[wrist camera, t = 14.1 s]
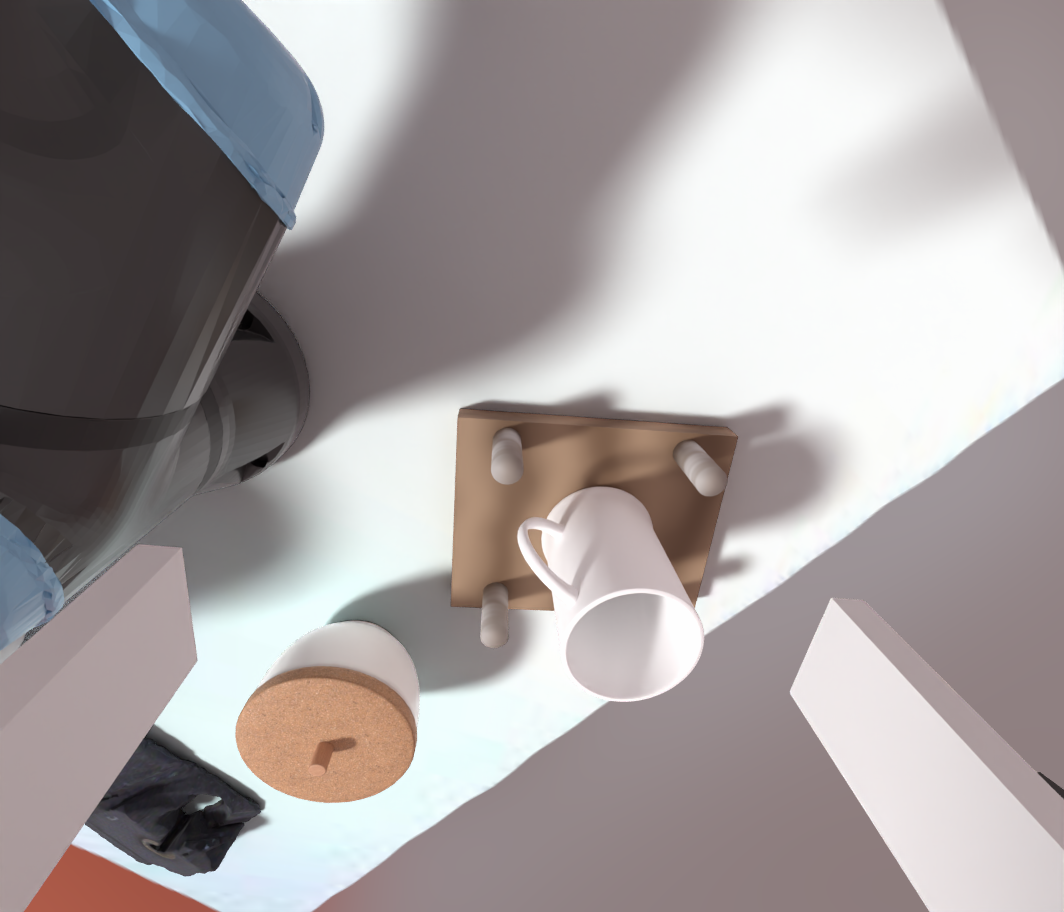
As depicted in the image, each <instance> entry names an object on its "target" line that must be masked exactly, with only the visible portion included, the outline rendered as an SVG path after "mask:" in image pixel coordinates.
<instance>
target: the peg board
mask: <svg viewBox="0 0 1064 912" xmlns="http://www.w3.org/2000/svg"><path fill="white" fill-rule="evenodd" d="M737 439H738V436H737V435H736V434H735V433H733V432H732V431H731V430H730V429H729V428H728V427H717V426H702V425H688V424H674V423H659V422H645V421H631V420H617V419H602V418H588V417H574V416H559V415H545V414H531V413H516V412H502V411H488V410H474V409H460V410H459V414H458V421H457V449H456V476H455V503H454V531H453V558H452V586H451V607H475V608H482V616H481V633H480V639H481V642H482V643H483V644H484V645H485V646H487V647H490V648H499V647H501V646H503V645H505V644H506V642H507V641H508V609H524V610H549V611H554V604H553V597H552V591H551V590H550V589H549V588H548V587H547V586H546V585H545V584H544V583H543V582H542V581H541V580H540V579H539V577H538V576H537V575H536V574H535V573H534V571H533V570H532V569H531V567H530V566H529V565H528V563H527V561H526V560H525V558H524V556H523V554H522V552H521V550H520V547H519V544H518V538H517V535H518V530H519V527H520V526H521V524H522V523H523V522H524V521H525V520H527V519H529V518H532V517H540V518H545V519H547V517H548V515H549V513H550V512H551V511H552V509H553V508H554V507H555V506H556V505H557V504H558V503H559V502H560V501H561V500H563V499H564V498H565V497H567V496H569V495H570V494H572V493H574V492H577V491H579V490H582V489H586V488H590V487H612V488H617V489H620V490H623V491H625V492H627V493H629V494H631V495H633V496H634V497H635V498H637V499H638V500H639V501H640V502H641V503H642V504H643V505H644V507H645V508H646V510H647V511H648V513H649V515H650V518H651V521H652V525H653V530H654V532H655V534H656V536H657V538H658V540H659V541H660V543H661V545H662V547H663V549H664V551H665V553H666V555H667V557H668V559H669V561H670V562H671V564H672V566H673V568H674V570H675V572H676V574H677V576H678V578H679V580H680V582H681V583H682V585H683V587H684V589H685V591H686V593H687V595H688V597H689V599H690V601H691V603H692V604H693V606H694V608H695V605H696V601H697V597H698V593H699V589H700V585H701V581H702V577H703V573H704V569H705V565H706V561H707V557H708V553H709V550H710V546H711V542H712V538H713V534H714V530H715V526H716V522H717V518H718V514H719V510H720V506H721V502H722V498H723V494H724V490H725V487H726V485H727V480H728V475H729V471H730V467H731V463H732V459H733V455H734V451H735V447H736V443H737ZM528 537H529V540H530V542H531V544H532V546H533V548H534V549H535V551H536V552H537V554H538V555H539V557H540V558H541V559H542V560H543V562H544V563H545V564H546V565H547V566H548V562H547V560H546V558H545V555H544V552H543V549H542V541H541V537H542V531H541V530H538V529H528Z"/></svg>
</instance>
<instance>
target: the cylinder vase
mask: <svg viewBox="0 0 1064 912" xmlns="http://www.w3.org/2000/svg"><path fill="white" fill-rule="evenodd" d="M25 636H26V633H25V634H24V635H22V636H21V637H19V638H18V639H16V640H15V641H14V642H12V643H11V644H9V645H8V646H7V647H5V648H4V649H3V650H1V651H0V664H1V663H3V662H4V661H5V660H6V659H7V658H8V657H9V656H11V655H12V654H13V653H14V652H15V651H16V650H17V649H18V648H19V647H20V645H21V644H22V642H23V640H24V638H25Z"/></svg>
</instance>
